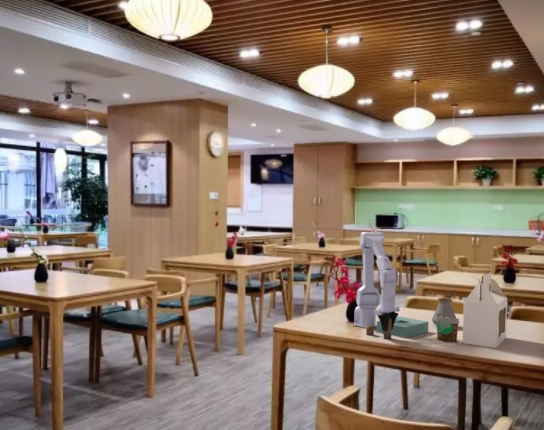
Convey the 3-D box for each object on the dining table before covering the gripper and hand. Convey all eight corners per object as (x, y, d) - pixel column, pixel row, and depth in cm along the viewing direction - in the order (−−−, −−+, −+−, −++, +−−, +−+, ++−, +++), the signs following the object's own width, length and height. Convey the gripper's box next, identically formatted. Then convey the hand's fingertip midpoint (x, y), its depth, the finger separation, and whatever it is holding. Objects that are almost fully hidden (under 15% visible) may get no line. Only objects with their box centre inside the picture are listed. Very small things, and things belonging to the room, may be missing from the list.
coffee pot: (454, 330, 261) (454, 297, 261) (428, 327, 267) (429, 294, 267) (464, 322, 279) (465, 291, 279) (440, 319, 285) (441, 289, 285)
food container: (428, 337, 246) (428, 314, 246) (440, 336, 248) (440, 313, 248) (446, 343, 235) (447, 319, 234) (458, 342, 237) (459, 318, 237)
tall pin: (381, 337, 243) (382, 318, 243) (386, 336, 245) (386, 317, 245) (388, 339, 240) (388, 320, 240) (392, 337, 243) (393, 319, 242)
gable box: (474, 333, 255) (476, 270, 254) (506, 337, 248) (508, 273, 247) (462, 343, 236) (464, 275, 235) (496, 348, 229) (498, 278, 228)
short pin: (364, 334, 249) (364, 325, 249) (369, 333, 251) (369, 324, 251) (370, 335, 247) (370, 326, 247) (375, 334, 249) (375, 325, 249)
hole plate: (376, 331, 255) (376, 321, 255) (399, 326, 268) (399, 316, 267) (405, 337, 244) (406, 327, 244) (428, 331, 257) (428, 321, 257)
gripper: (386, 301, 234) (385, 334, 235) (405, 297, 244) (405, 329, 245) (371, 299, 239) (371, 331, 240) (391, 295, 249) (391, 326, 250)
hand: (387, 330), depth 243 cm, fingers closed on tall pin, 3 cm apart
